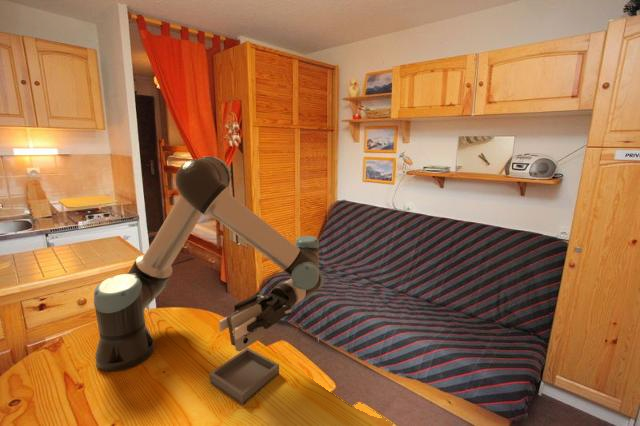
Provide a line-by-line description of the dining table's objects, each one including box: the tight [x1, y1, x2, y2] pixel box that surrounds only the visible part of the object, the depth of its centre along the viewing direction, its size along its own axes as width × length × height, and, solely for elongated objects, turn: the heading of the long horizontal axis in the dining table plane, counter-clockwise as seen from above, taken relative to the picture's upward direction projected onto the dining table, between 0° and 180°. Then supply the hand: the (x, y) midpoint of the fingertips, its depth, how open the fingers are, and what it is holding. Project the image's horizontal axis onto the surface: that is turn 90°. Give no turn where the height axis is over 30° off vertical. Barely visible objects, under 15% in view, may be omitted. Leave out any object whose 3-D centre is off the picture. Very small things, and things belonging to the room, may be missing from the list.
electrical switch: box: [226, 304, 266, 352], centre depth 86 cm, size 9×5×9 cm, turn 142°
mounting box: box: [209, 347, 280, 406], centre depth 90 cm, size 13×14×3 cm
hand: (227, 330), depth 82 cm, fingers closed on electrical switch, 5 cm apart
